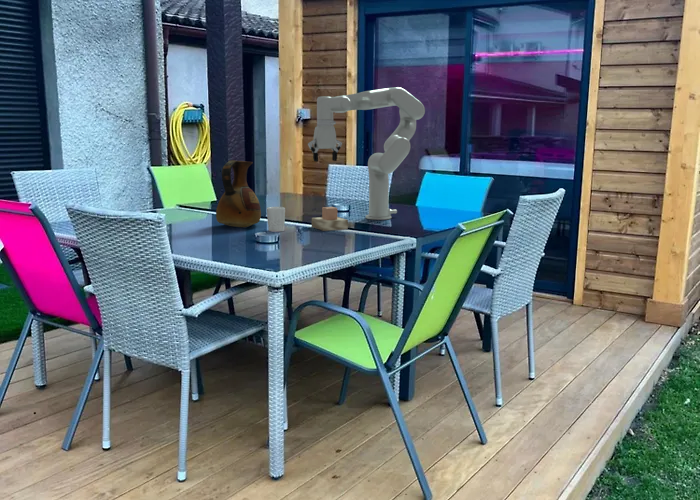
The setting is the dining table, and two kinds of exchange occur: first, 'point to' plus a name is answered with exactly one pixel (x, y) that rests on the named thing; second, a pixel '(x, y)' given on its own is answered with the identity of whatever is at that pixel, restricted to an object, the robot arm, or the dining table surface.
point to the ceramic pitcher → (237, 197)
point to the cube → (329, 213)
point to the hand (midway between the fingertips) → (325, 161)
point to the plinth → (329, 224)
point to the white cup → (276, 218)
